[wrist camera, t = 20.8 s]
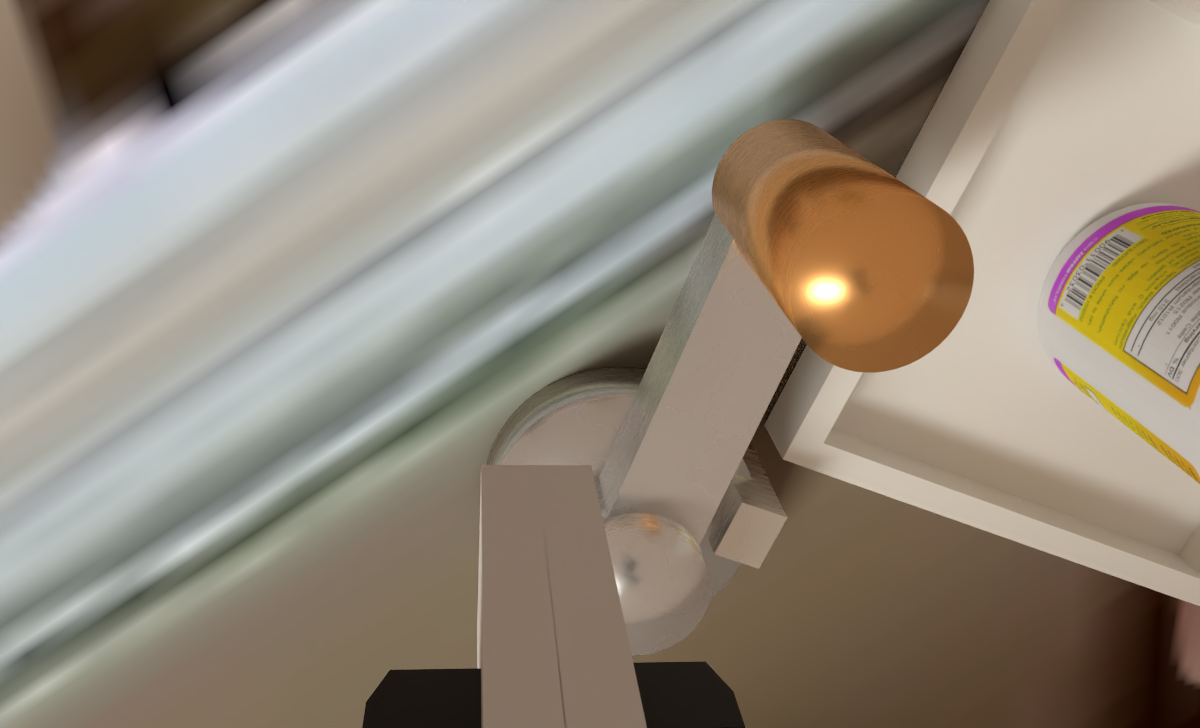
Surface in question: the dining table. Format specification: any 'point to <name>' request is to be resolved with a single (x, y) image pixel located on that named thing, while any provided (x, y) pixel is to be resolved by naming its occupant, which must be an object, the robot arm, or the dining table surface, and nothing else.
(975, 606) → the dining table surface
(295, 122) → the dining table surface
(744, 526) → the crank base
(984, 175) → the tray
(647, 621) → the crank lever
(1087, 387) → the supplement bottle
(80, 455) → the dining table surface
